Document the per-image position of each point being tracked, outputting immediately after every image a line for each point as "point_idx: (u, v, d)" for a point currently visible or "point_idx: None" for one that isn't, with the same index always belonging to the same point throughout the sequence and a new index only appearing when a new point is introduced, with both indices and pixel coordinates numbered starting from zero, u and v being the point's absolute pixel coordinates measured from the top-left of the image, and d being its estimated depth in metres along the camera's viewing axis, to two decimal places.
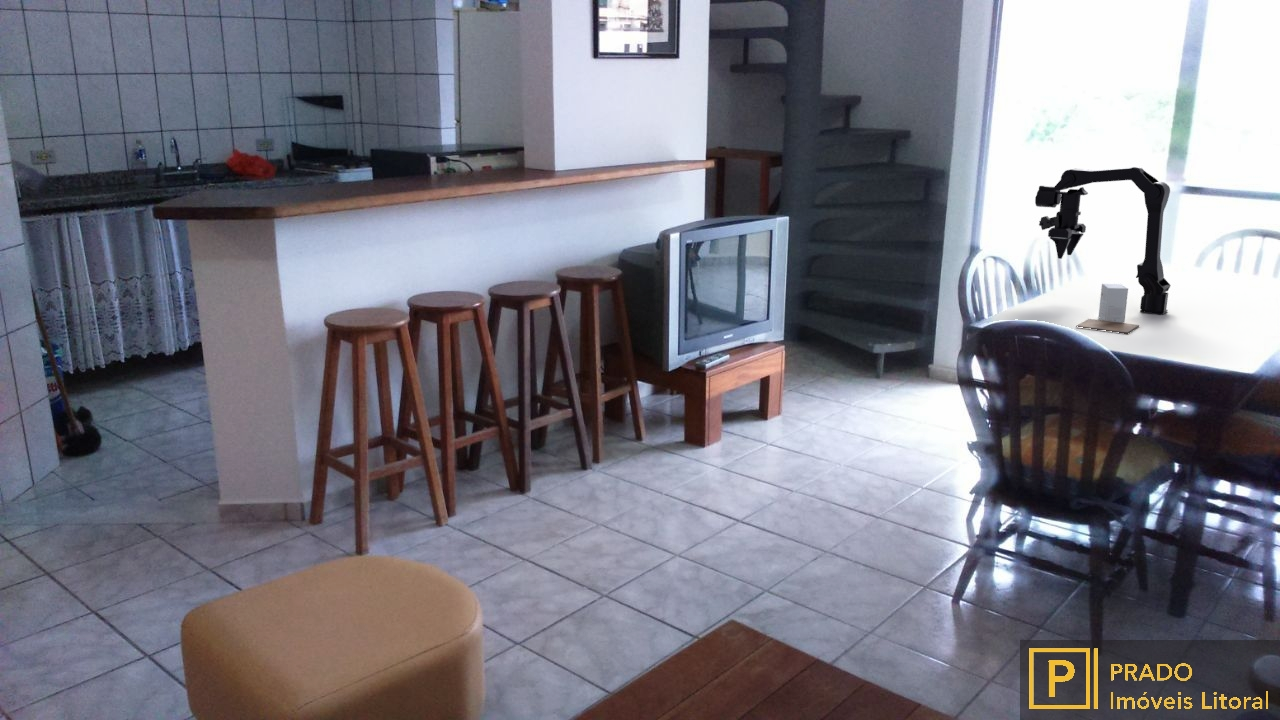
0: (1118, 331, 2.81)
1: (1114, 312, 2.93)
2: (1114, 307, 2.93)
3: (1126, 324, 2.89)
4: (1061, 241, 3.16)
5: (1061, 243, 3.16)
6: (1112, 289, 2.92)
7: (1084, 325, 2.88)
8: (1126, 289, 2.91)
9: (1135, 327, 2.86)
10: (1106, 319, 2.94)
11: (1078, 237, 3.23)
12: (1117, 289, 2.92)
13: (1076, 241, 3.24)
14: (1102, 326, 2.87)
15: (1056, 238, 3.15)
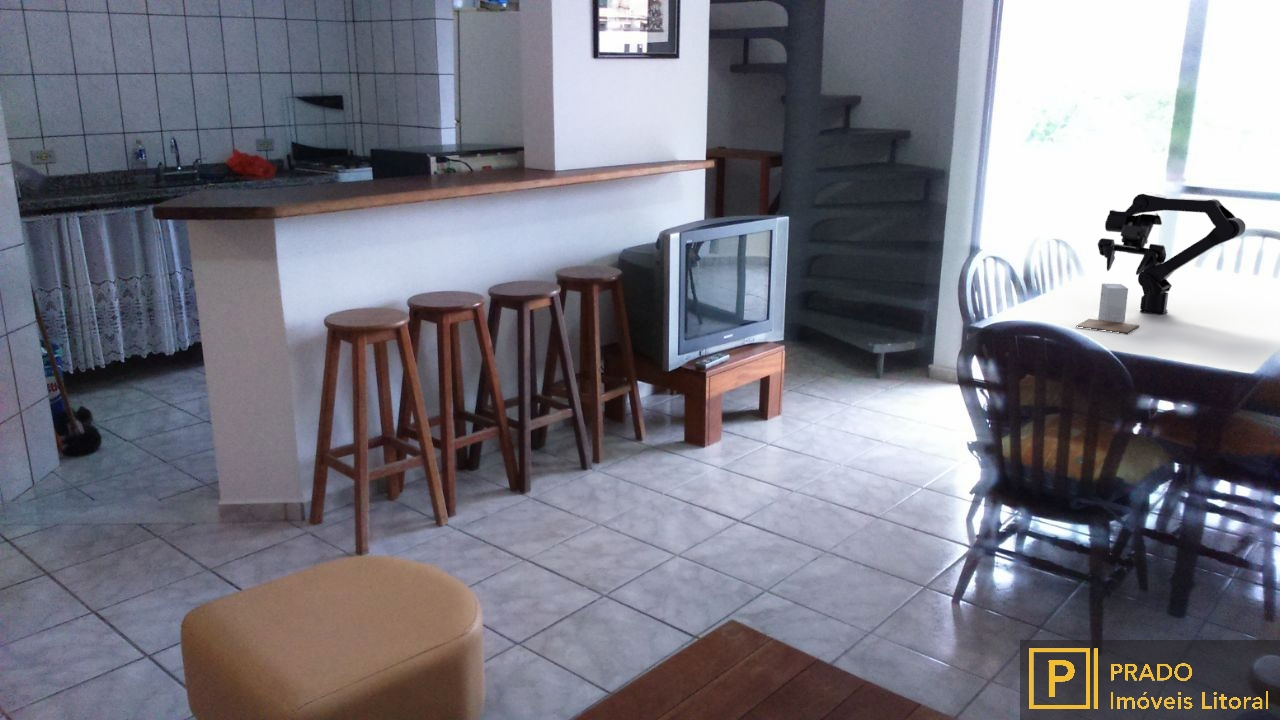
0: (1118, 331, 2.81)
1: (1114, 312, 2.93)
2: (1114, 307, 2.93)
3: (1126, 324, 2.89)
4: (1147, 260, 2.99)
5: (1146, 262, 2.98)
6: (1112, 289, 2.92)
7: (1084, 325, 2.88)
8: (1126, 289, 2.91)
9: (1135, 327, 2.86)
10: (1106, 319, 2.94)
11: (1113, 259, 3.07)
12: (1117, 289, 2.92)
13: (1112, 261, 3.06)
14: (1102, 326, 2.87)
15: (1156, 256, 2.97)
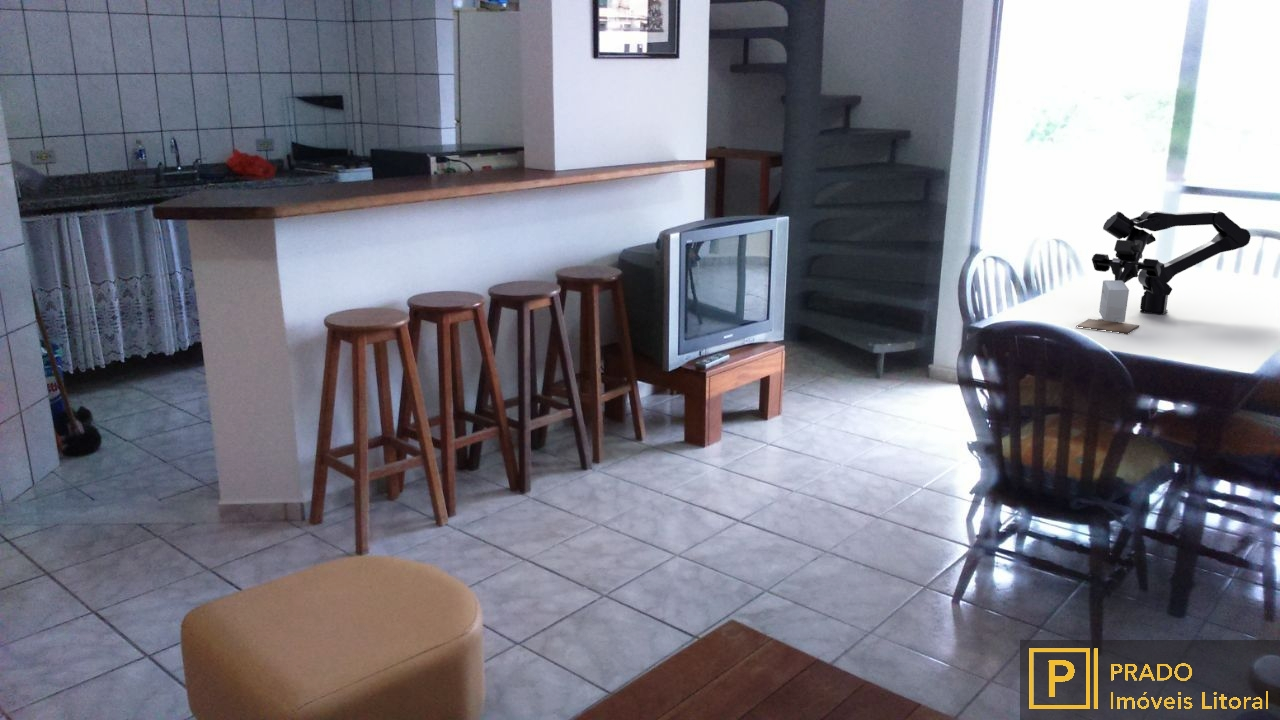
0: (1118, 331, 2.81)
1: (1114, 312, 2.93)
2: (1114, 308, 2.92)
3: (1126, 324, 2.89)
4: (1127, 273, 2.99)
5: (1126, 275, 2.99)
6: (1113, 291, 2.90)
7: (1084, 325, 2.88)
8: (1127, 290, 2.89)
9: (1135, 327, 2.86)
10: (1106, 319, 2.94)
11: None
12: (1118, 290, 2.90)
13: None
14: (1102, 326, 2.87)
15: (1136, 269, 2.97)
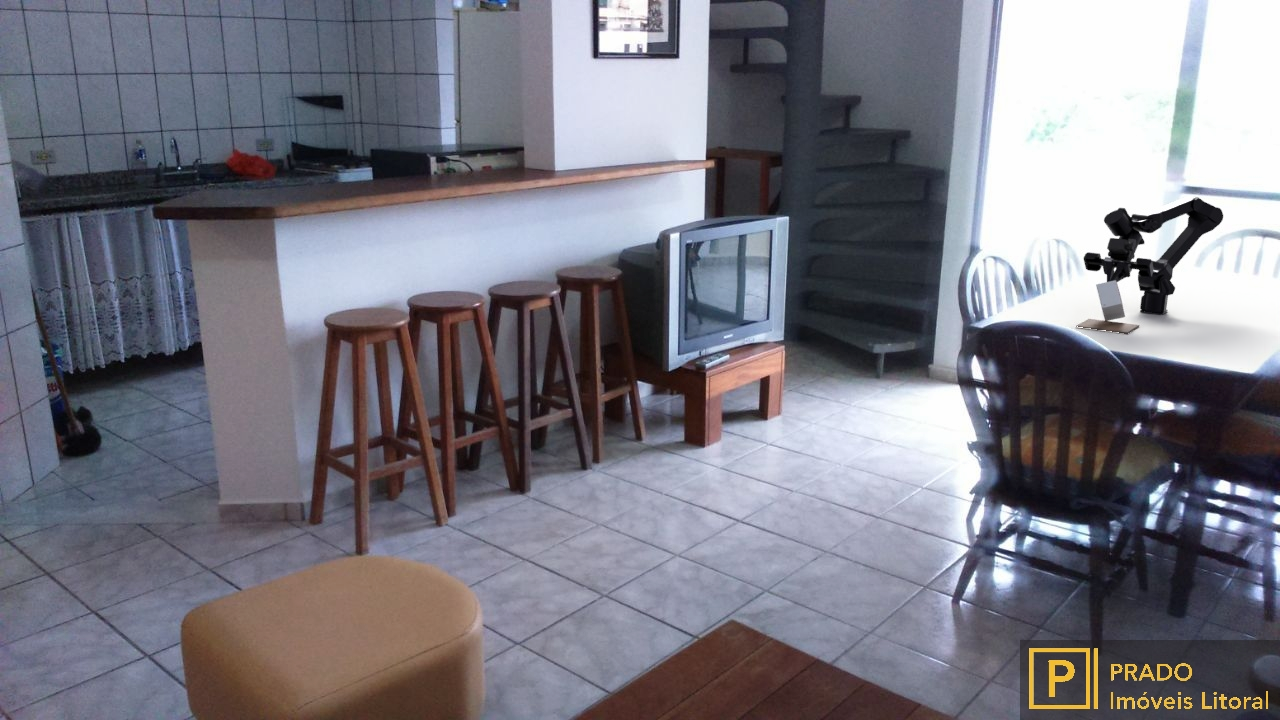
0: (1118, 331, 2.81)
1: (1112, 315, 2.91)
2: (1111, 314, 2.90)
3: (1126, 324, 2.89)
4: (1119, 272, 2.93)
5: (1119, 274, 2.93)
6: (1106, 307, 2.86)
7: (1084, 325, 2.88)
8: (1120, 304, 2.85)
9: (1135, 327, 2.86)
10: (1106, 320, 2.94)
11: None
12: (1111, 306, 2.86)
13: None
14: (1102, 326, 2.87)
15: (1128, 268, 2.91)
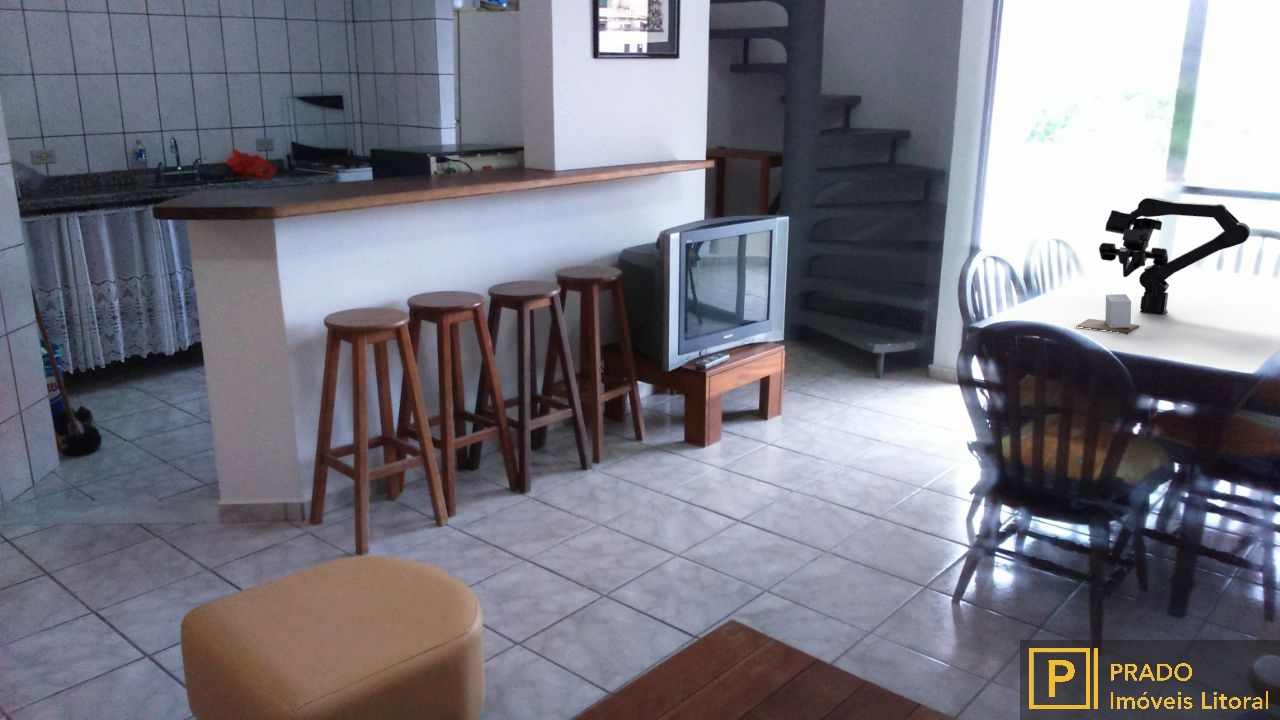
0: (1118, 331, 2.81)
1: None
2: None
3: None
4: None
5: (1134, 264, 3.00)
6: (1113, 327, 2.85)
7: (1084, 325, 2.88)
8: None
9: (1135, 327, 2.86)
10: None
11: None
12: None
13: None
14: (1102, 326, 2.87)
15: (1143, 258, 2.98)
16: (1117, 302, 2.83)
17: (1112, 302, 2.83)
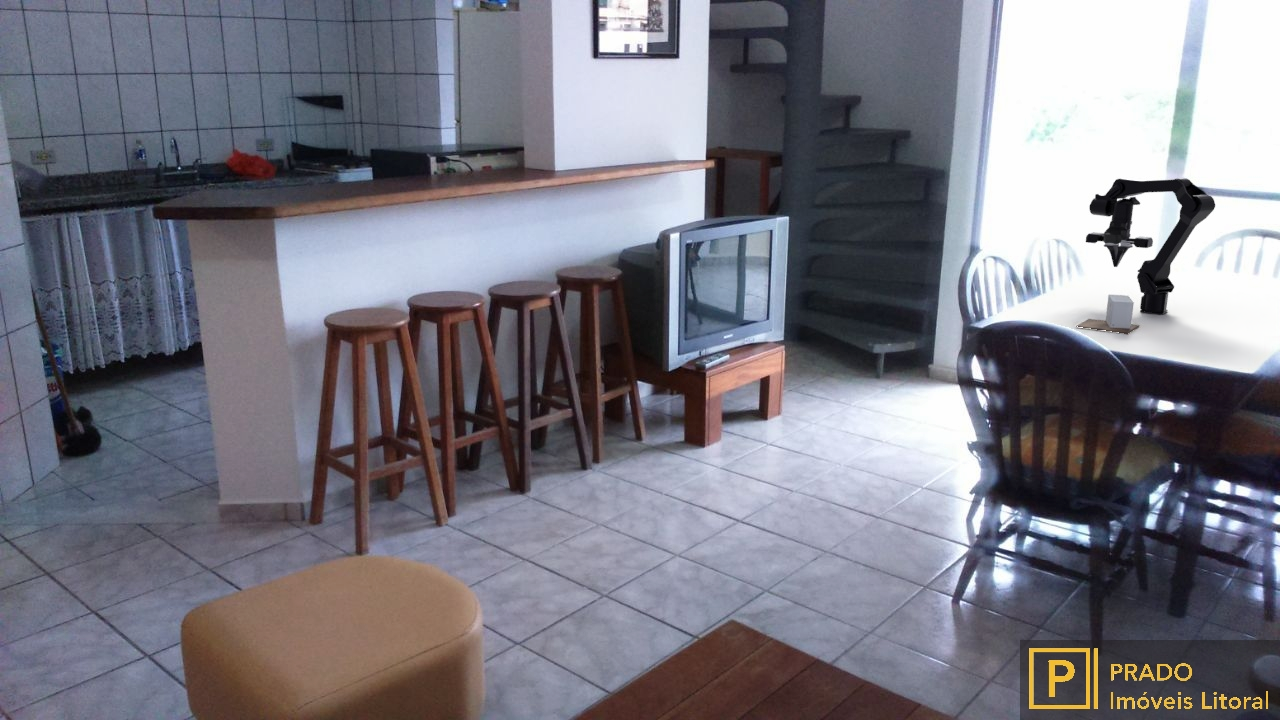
0: (1118, 331, 2.81)
1: None
2: None
3: None
4: None
5: None
6: (1113, 327, 2.85)
7: (1084, 325, 2.88)
8: (1128, 328, 2.84)
9: (1135, 327, 2.86)
10: None
11: (1118, 247, 3.19)
12: (1119, 327, 2.85)
13: (1117, 251, 3.19)
14: (1102, 326, 2.87)
15: (1129, 247, 3.14)
16: (1120, 302, 2.82)
17: (1115, 302, 2.83)
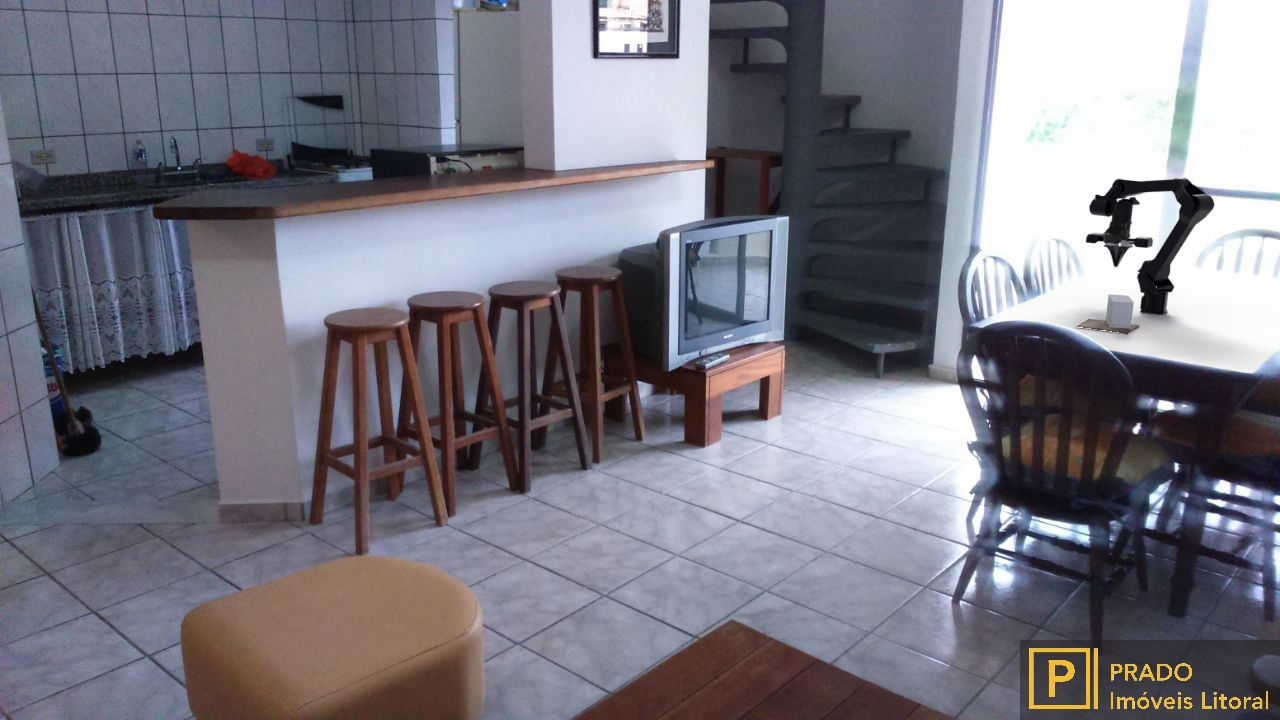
0: (1118, 331, 2.81)
1: None
2: None
3: None
4: None
5: (1122, 251, 3.16)
6: (1113, 327, 2.85)
7: (1084, 325, 2.88)
8: (1128, 328, 2.84)
9: (1135, 327, 2.86)
10: None
11: (1118, 247, 3.19)
12: (1119, 327, 2.85)
13: (1117, 251, 3.19)
14: (1102, 326, 2.87)
15: (1129, 247, 3.14)
16: (1120, 302, 2.82)
17: (1115, 302, 2.83)
